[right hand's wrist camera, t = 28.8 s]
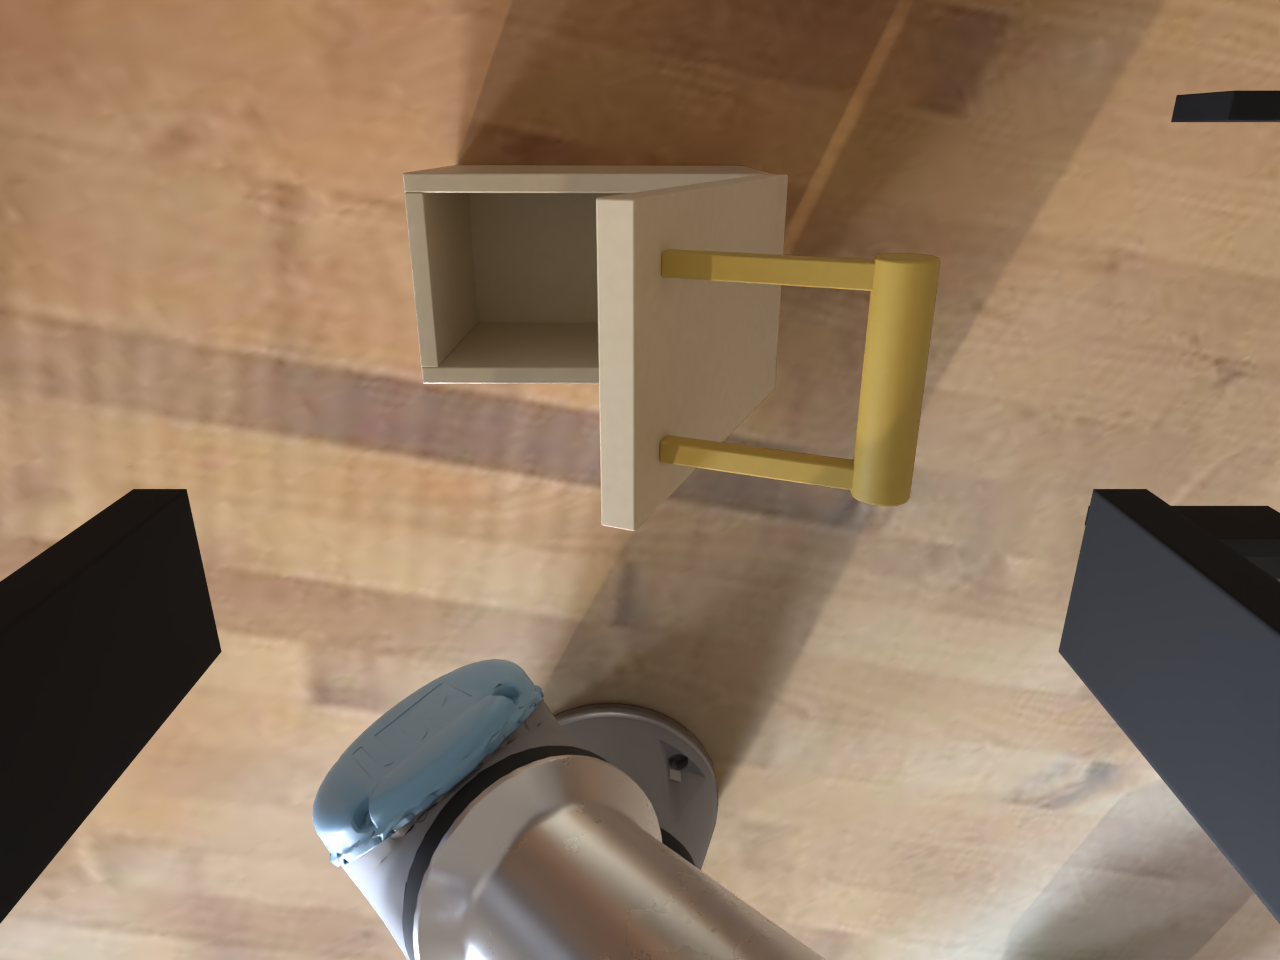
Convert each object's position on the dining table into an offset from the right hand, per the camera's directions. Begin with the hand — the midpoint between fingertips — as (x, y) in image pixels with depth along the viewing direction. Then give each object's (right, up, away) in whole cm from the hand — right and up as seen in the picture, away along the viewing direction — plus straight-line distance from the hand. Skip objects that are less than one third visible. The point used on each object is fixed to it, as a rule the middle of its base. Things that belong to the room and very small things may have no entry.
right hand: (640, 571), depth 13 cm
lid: (+2, +7, +18) cm, 19 cm away
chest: (-2, +14, +35) cm, 38 cm away
